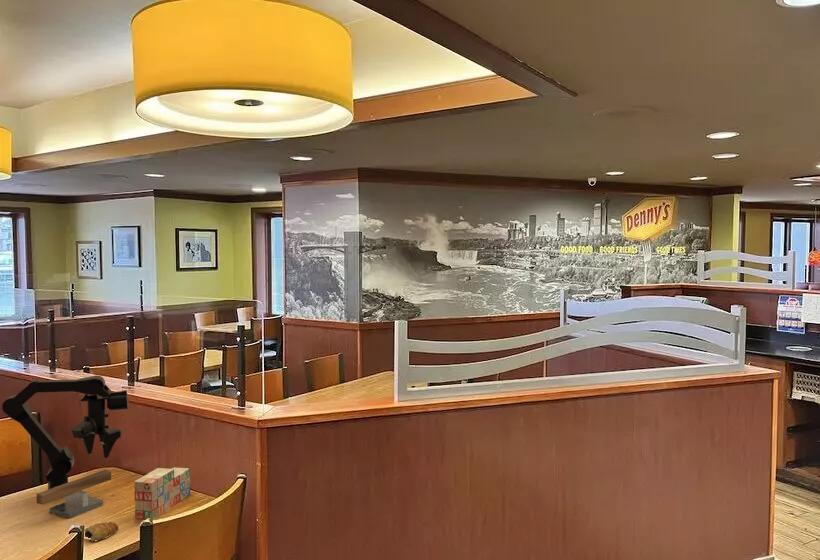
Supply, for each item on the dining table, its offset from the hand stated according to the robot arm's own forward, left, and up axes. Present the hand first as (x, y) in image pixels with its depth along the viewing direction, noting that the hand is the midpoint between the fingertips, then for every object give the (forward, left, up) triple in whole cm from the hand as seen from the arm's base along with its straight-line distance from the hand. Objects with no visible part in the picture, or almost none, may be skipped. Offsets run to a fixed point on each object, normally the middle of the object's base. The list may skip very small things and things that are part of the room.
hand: (97, 455), depth 220 cm
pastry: (+33, -24, -12) cm, 42 cm away
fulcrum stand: (+9, -14, -12) cm, 21 cm away
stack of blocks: (+33, 0, -12) cm, 35 cm away
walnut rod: (+8, -15, -6) cm, 18 cm away
